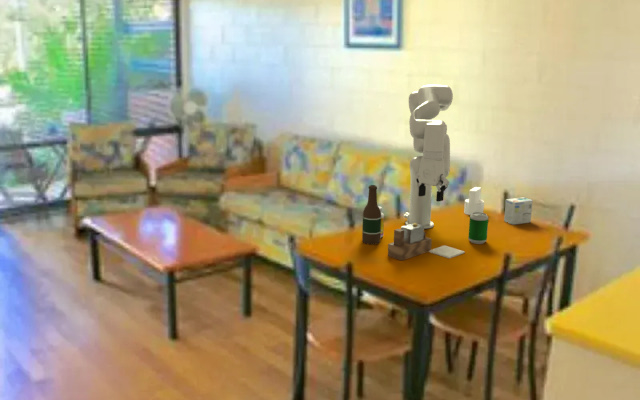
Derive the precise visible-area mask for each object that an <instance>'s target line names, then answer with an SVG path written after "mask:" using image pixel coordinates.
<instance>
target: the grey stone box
mask: <svg viewBox="0 0 640 400" xmlns="http://www.w3.org/2000/svg"><path fill="white" fill-rule="evenodd" d="M400 229H401V230H404V243H407V244H413V243H416V242H419V241H422V240H423V237H424V232H425V229H424V226H423V225H420V224H417V223H412V224H409V225H406V224H405V225H402V226H401V227H400Z"/></svg>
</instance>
